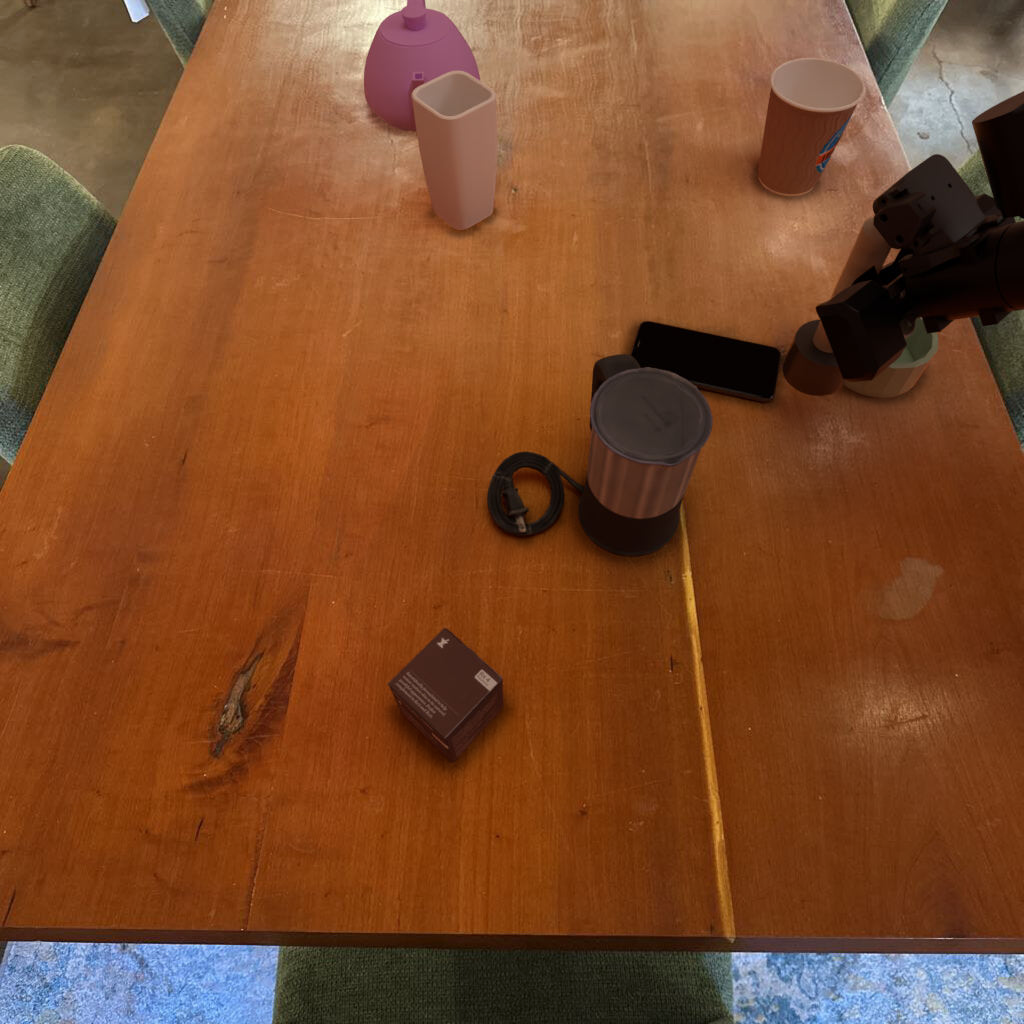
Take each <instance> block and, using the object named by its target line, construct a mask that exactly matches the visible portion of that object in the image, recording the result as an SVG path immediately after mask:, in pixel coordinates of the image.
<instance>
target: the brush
mask: <svg viewBox="0 0 1024 1024" xmlns="http://www.w3.org/2000/svg"><path fill="white" fill-rule="evenodd" d="M873 218H874V217H870V218H867V219H866V220H865V221H864V222H863V224H862V226H861V228H860V231H859V233H858V235H857V237H856V239H855V241H854V244H853V246H852V248H851V250H850V253H849V255H848V258H847V260H846V262H845V265H844V266H843V269H842V271H841V274H840V276H839V278H838V280H837V283H836V285H835V287H834V290H833V292H832V294H831V296H830V298H829V300H830V299H832V298H833V297H835V296H836V295H837V294H839V293H840V292H841V291H842V290H844V289H846V288H848V287H850V286H851V284H852V282H853V281H854V280H855V279H856V278H858V277H859V276H860V275H862V274H863V273H864V272H866V271H867V270H868V269H870V268H871V267H872V266H875V268H876V271H877V274H879V272H880V270H881V268H882V267H883V266H884V264H885V262H886V260H887V258H888V257H889V255H890V252H891V250H892V248H891V247H890V246H889V245H888V244H887V242H886V241H885V240H884V238H883V237H882V236H881V234H880V233H879V232H878V230H877V229H876V228H875V226H874V224H873ZM782 374H783V377H784V379H785V381H786V382H787V383H788V384H789V386H791V387H792V388H793V389H794V390H796V391H798V392H800V393H802V394H805V395H808V396H813V397H825V396H830V395H832V394H835V393H837V392H838V391H839V390H840V389H841V388H842V387H843V386H844V385H843V384H844V382H845V380H844V379H843V377H842V375H841V372H840V369H839V367H838V364H837V362H836V359H835V356H834V354H833V351H832V349H831V346H830V343H829V341H828V338H827V336H826V333H825V330H824V328H823V325H822V322H821V320H820V319H814V320H810V321H807V322H805V323H804V324H801V326H800V327H799V328H798V329H797V330H796V332H795V334H794V336H793V339H792V342H791V344H790V347H789V348H788V351H787V354H786V356H785V359H784V361H783V363H782Z"/></svg>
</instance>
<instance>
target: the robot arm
mask: <svg viewBox="0 0 1024 1024" xmlns="http://www.w3.org/2000/svg"><path fill="white" fill-rule="evenodd" d="M971 125H972V127H973V128H972V129H973V131H974V135H975V139H976V142H977V145H978V148H979V152H980V156H981V159H982V163H983V166H984V170H985V174H986V177H987V181H988V184H989V187H990V191H991V194H992V196H990V194H989V195H988V194H987V193H982V194H977V195H975V194H974V192H973V191H972V190H971V188H970V187H969V186H968V184H967V183H966V182H965V180H964V179H963V178H962V177H961V175H960V173H959V172H958V171H957V170H956V168H955V166H954V165H953V164H952V163H951V162H950V161H949V159H948V158H947V157H946V156H944V155H942V154H939V153H935V154H932V155H930V156H929V157H928V158H926V159H924V160H923V161H922V162H921V163H919V164H918V165H916V166H915V167H913V168H912V169H911V170H909V171H908V172H906V173H905V174H904V175H903V176H902V177H900V178H899V179H898V180H897V181H896V182H894V183H893V184H892V185H891V186H889V187H888V189H886V190H885V191H883V192H882V193H881V194H880V195H879V196H878V197H876V198H875V199H874V201H873V202H872V211H873V215H874V216H873V217H872V218H873V224H874V226H875V228H876V229H877V230H878V232H879V233H880V234H881V236H882V237H883V238H884V240H885V241H886V242H887V244H888V245H889V246H890V247H891V249H893V250H899V251H898V253H897V255H896V257H895V259H894V260H892V261H890V262H889V263H887V264H885V265H883V266H882V268H881V270H880V272H879V274H877V271H876V268H875V266H872V267H871V268H870V269H868V270H867V271H866V272H864V273H863V274H862V275H860V276H859V277H858V278H856V279H855V280H854V281H853V282H852V284H851V286H850V287H848V288H846V289H844V290H842V291H841V292H840V293H839V294H837V295H836V296H835V297H833V298H832V299H830V298H829V299H828V300H825V301H824V302H821V303H819V304H817V305H816V306H815V311H816V314H817V316H818V318H819V320H821V322H822V325H823V328H824V330H825V333H826V336H827V338H828V341H829V343H830V346H831V349H832V351H833V354H834V356H835V359H836V362H837V364H838V367H839V369H840V372H841V375H842V377H843V379H844V380H846V381H849V382H859V381H872V380H873V379H874V378H876V377H877V376H878V375H879V374H880V373H882V372H883V371H884V370H885V369H886V368H887V367H889V366H890V365H891V364H892V363H893V362H895V361H896V360H897V359H898V358H899V357H900V356H901V354H902V353H903V351H904V349H905V347H906V346H907V343H906V341H905V339H906V338H907V337H909V336H910V335H911V334H912V333H913V332H914V330H915V322H916V319H918V318H921V317H922V320H923V323H924V326H925V329H926V332H927V334H928V333H936V332H937V333H940V332H942V331H943V330H944V329H945V328H947V327H948V326H949V325H950V324H951V323H953V322H954V321H957V320H963V319H969V318H970V319H971V318H977V317H979V320H980V323H981V326H982V327H989V326H996V325H998V324H999V323H1000V322H1002V321H1003V320H1004V319H1006V317H1008V316H1009V315H1010V314H1011V313H1012V312H1019V311H1024V220H1023V219H1024V90H1023V91H1021V92H1018V93H1016V94H1015V95H1012V96H1011V97H1008V98H1006V99H1004V100H1003V101H1001V102H998V103H997V104H995V105H993V106H991V107H990V108H988V109H986V110H984V111H983V112H981V113H980V114H977V116H975V117H974V119H972V121H971ZM1018 217H1019V219H1022V220H1021V221H1016V218H1018Z"/></svg>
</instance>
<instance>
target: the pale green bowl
mask: <svg viewBox="0 0 1024 1024" xmlns="http://www.w3.org/2000/svg"><path fill="white" fill-rule="evenodd" d="M939 339H940V338H939V334H938V332H936V333H928V334H927V332H926V329H925V326H924V323H923V320H922V317H921V318H918V319H916V322H915V330H914V332H913V333H912V334H911V335H910V336H909V337H907V338H906V339H905V341H906V343H907V346H906V347H905V349H904V351H903V353H902V354H901V356H900V357H899V358H898V359H897V360H896V361H895V362H893V363H892V364H891V365H890V366H889V367H887V368H886V369H885V370H884V371H883V372H882V373H880V374H879V375H878V376H877V377H876V378H874V379H873V380H872V381H859V382H849V381H846V380H845V382H844V384H843V385H842V386H844V387H846V388H848V389H849V390H851V391H853V392H854V393H857V394H860V395H863V396H867V397H872V398H880V399H881V398H885V399H886V398H894V397H898V396H901V395H904V394H906V393H907V392H908V391H910V390H911V389H912V388H913V387H914V386H915V385H916V383H917V382H918V380H919V379H920V378H921V377H922V375H923V373H924V372H925V370H926V369H927V368H928V366H929V364H930V363H931V361H932V360H933V358H934V357H935V355H936V354H937V352H938V350H939Z"/></svg>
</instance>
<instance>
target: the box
mask: <svg viewBox="0 0 1024 1024" xmlns="http://www.w3.org/2000/svg"><path fill="white" fill-rule="evenodd" d="M429 641H430V642H428V643H427V644H426V645H425V646H424V647H423V648H422V649H421V650H420V651H419V652H418V653H416V655H415V656H414V657H413V658H412V659H411V660H410V661H409V662H408V663H407V664H406V665H405V666H404V667H403V668H402V669H400V670H399V671H398V673H397V674H395V676H394V677H392V679H390V681H388V683H387V686H388V687H389V689H390V691H391V693H392V695H393V697H394V700H395V702H396V704H397V707H398V709H399V711H400V713H401V714H402V716H404V718H405V719H407V721H408V722H409V723H411V725H412V726H414V728H415V730H417V731H418V732H419V733H420V734H421V735H422V736H423V737H424V738H425V739H426V740H427V741H428V742H429V743H430V744H431V745H432V746H433V747H435V748H436V749H437V750H438V752H440V753H441V754H442V755H443V756H444V757H445V758H446V759H447V760H448V761H449V762H450V763H454V762H455V761H456V760H457V759H458V758H459V757H460V756H461V755H462V754H463V753H464V752H465V751H466V749H467V748H468V747H469V746H470V745H471V744H472V743H473V742H474V740H475V739H476V738H477V737H478V736H479V735H480V734H481V733H482V732H483V731H484V730H485V728H487V726H488V725H489V724H491V722H492V721H493V719H495V717H496V716H497V715H498V714H499V713H500V712H501V711H502V710H503V708H504V684H503V682H504V679H503V677H502V676H501V675H500V674H499V673H498V672H497V671H496V670H494V669H493V668H492V667H491V666H490V665H489V664H488V663H487V662H485V660H483V659H482V658H481V657H480V656H479V655H478V654H477V652H475V651H474V650H473V649H472V648H471V647H469V646H467V645H466V644H465V643H464V642H463V641H462V640H460V639H459V637H458V636H456V635H455V634H454V633H453V632H452V631H451V630H450V629H448V628H446V627H442V629H441V630H440V631H439V633H437V634H436V635H435V637H434V638H432V639H431V640H429Z"/></svg>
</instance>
